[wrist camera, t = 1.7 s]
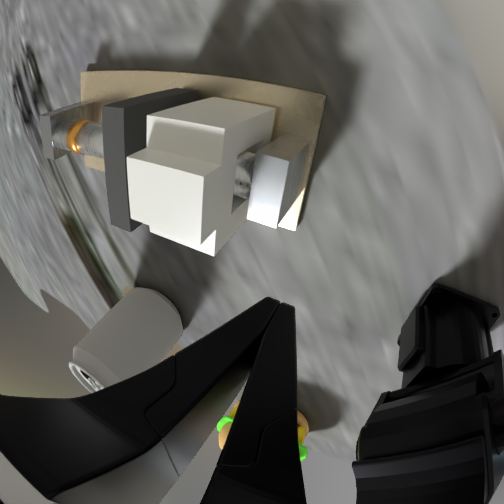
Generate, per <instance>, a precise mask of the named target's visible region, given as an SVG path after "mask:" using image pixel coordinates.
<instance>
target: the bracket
mask: <svg viewBox="0 0 504 504" xmlns="http://www.w3.org/2000/svg"><path fill="white" fill-rule="evenodd" d="M275 112H276V108H272V107H267V106H263V105H258V104H252V103H247V102H242V101H236V100H230V99H224V98H218V97H211V98H207V99H203V100H199V101H195V102H191V103H187V104H183V105H180V106H176V107H173V108H169V109H166V110H162V111H159V112H156V113H152V114H149V115H147V148H145V149H142V150H140V151H138V152H136V153H134V154H132V155H129V156H127V175H128V191H129V203H130V215H131V219H134V220H136V221H139V222H141V223H144V224H147V225H149V226H150V232H152V233H154V234H157V235H159V236H162V237H165V238H167V239H170V240H172V241H175V242H177V243H180V244H183V245H185V246H188V247H190V248H193V249H196V250H198V251H201V252H203V253H206V254H209V255H211V256H215V255H216V254H217V253H218V252H219V250H220V249H221V248H222V247H223V246H224V245H225V244H226V243H227V242H228V240H229V239H230V238H231V237H232V236H233V235H234V234H235V233H236V232H237V230H238V229H239V228H240V227H241V226H242V225H243V224H244V223H245V222H246V220H247V212H248V205H249V200H248V199H245V198H242V197H239V196H235V195H233V193H234V184H235V175H236V166H237V158H238V154H240V153H242V152H243V151H248V152H252V153H256V152H257V151H258V150H260V149H261V148H263V147H264V146H266V145H267V144H269V143H271V136H272V130H273V124H274V118H275Z"/></svg>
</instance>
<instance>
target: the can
mask: <svg viewBox="0 0 504 504" xmlns="http://www.w3.org/2000/svg"><path fill="white" fill-rule="evenodd" d="M182 333H183V326H182V322H181V318H180V314H179V312H178V311H177V309H176V307H175V306H174V305H173V304H172V302H171V301H170V300H169V299H167V298H166V297H165V296H164V295H162V294H161V293H159V292H158V291H155V290H152V289H146V288H140V287H135V288H133V289H131V290H130V291H129V292H128V293H127V294H126V295H125V296H124V297H123V298H122V299H121V300H120V301H119V302H118V303H117V304H116V305H115V306H114V307H113V308H112V309H111V310H110V311H109V312H108V313H107V314H106V315H105V316H104V317H103V318H102V319H101V320H100V321H99V322H98V323H97V324H96V325H95V326H94V327H93V328H92V329H91V330H90V331H89V332H88V333H87V334H86V335H85V336H84V338H83V339H82V340H81V341H80V342H79V343H78V344H77V345H76V346H75V347H74V349H73V361H72V362H69V367H70V369H71V371H72V373H73V374H74V375H75V377H76V378H77V379H78V380H79V381H80V382H81V383H82V384H83V385H84V386H85V387H86V388H87V389H88V390H89V391H90V392H91V393H93V392H96V391H98V390H101V389H103V388H106V387H108V386H111V385H113V384H116V383H118V382H120V381H123V380H125V379H128V378H130V377H132V376H134V375H137V374H139V373H141V372H143V371H145V370H147V369H149V368H151V367H153V366H155V365H157V364H158V363H160V362H162V360H163V359H164V358H165V357H166V355H167V354H168V353H169V351H170V350H171V349H172V347H173V346H174V345H175V344H176V342H177V341H178V340H179V338H180V337H181V336H182Z"/></svg>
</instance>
